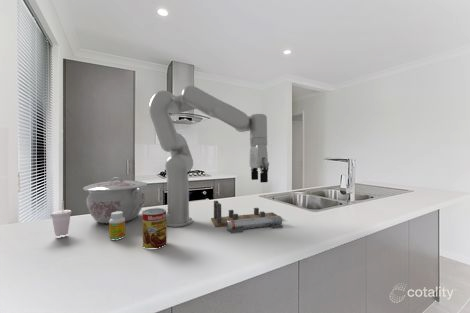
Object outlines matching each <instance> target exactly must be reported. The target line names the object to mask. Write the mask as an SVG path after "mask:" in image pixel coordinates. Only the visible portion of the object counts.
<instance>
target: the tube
mask: <svg viewBox="0 0 470 313" xmlns="http://www.w3.org/2000/svg"><path fill="white" fill-rule="evenodd" d="M275 225H283V217H281V215H278V216H271V217H260V218H250V219H239V220H229V221H227V222H226V226H225V227H226V230H227V231H228V232H229V231H230V232H231V230H238V229H243V230H246V229H248V230H249V229H257V228H264V227H271V226H275Z"/></svg>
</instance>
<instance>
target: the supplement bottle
mask: <svg viewBox="0 0 470 313" xmlns="http://www.w3.org/2000/svg"><path fill="white" fill-rule="evenodd" d="M122 216H123V212H121V211H117V212H113V213H111V217H112V218H111V219H110V220H109V224H108V229H109V231H108V234H109V235H108V237H109V238H110V239H119V238H122V237H124V236H125V237H126V222H125V218H124V217H122ZM109 238H108V239H109ZM110 239H109V240H110Z"/></svg>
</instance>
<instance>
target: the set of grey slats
mask: <svg viewBox="0 0 470 313" xmlns="http://www.w3.org/2000/svg"><path fill="white" fill-rule="evenodd" d="M270 227H271V229H281V228H283V227H284V225H283V224H282V225H275V226H270ZM243 232H244V229H238V230H230V234H236V233H243Z"/></svg>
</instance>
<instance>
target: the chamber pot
mask: <svg viewBox="0 0 470 313" xmlns="http://www.w3.org/2000/svg"><path fill="white" fill-rule="evenodd" d="M147 185H148V183H147V182H143V181H141V180H140V181H139V180H129V179H127V180H123V179H122V178H121V177H119V176H118V177H117V176H114V177H113V178H111V180H109V181H102V182H96V183H92V184H89V185H86V186H84V187H82V190H83V191H87V192H88V195H87V197H86V206H87V210H88V212H89V214H90V216H91V217H92V218H93V219H94V220H95V221H96V222H97V223H99V224H104V223H106V224H105V225H108V224H107V223H109V220H110V219H111V218H112V217H111V213H113V212H117V211H121V212H123V216H122V217H124V218H125V221H127V222H129V221H132V220H133V219H135V218H137V217H138V216H139V214H140V212H141V211H142V210H143V207H144V204H145V201H146V193H145V191H144V190H143V188H145V187H146V186H147Z"/></svg>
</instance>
